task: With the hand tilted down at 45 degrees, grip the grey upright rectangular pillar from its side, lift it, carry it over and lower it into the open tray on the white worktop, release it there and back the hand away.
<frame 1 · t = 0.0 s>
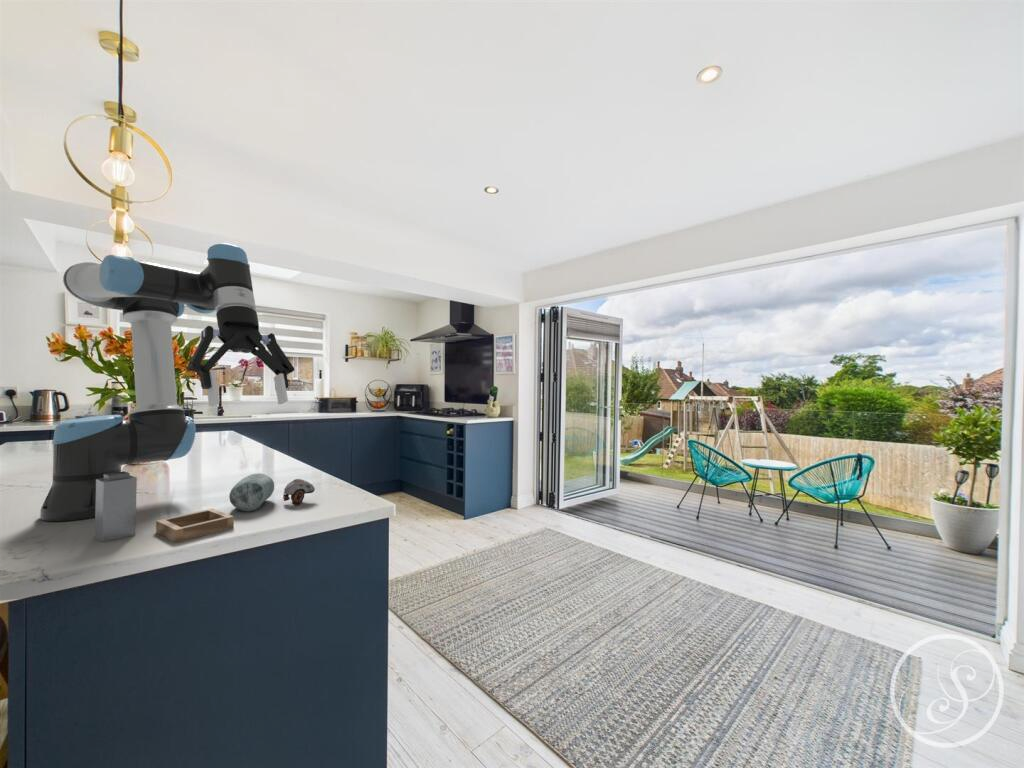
hand: (251, 403, 86), 28 cm above the countertop, fingers open, 13 cm apart
tray: (195, 529, 88), on the countertop
mottled river stone: (252, 507, 106), on the countertop
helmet: (299, 503, 109), on the countertop
grey upright rectangular pillar: (115, 536, 84), on the countertop
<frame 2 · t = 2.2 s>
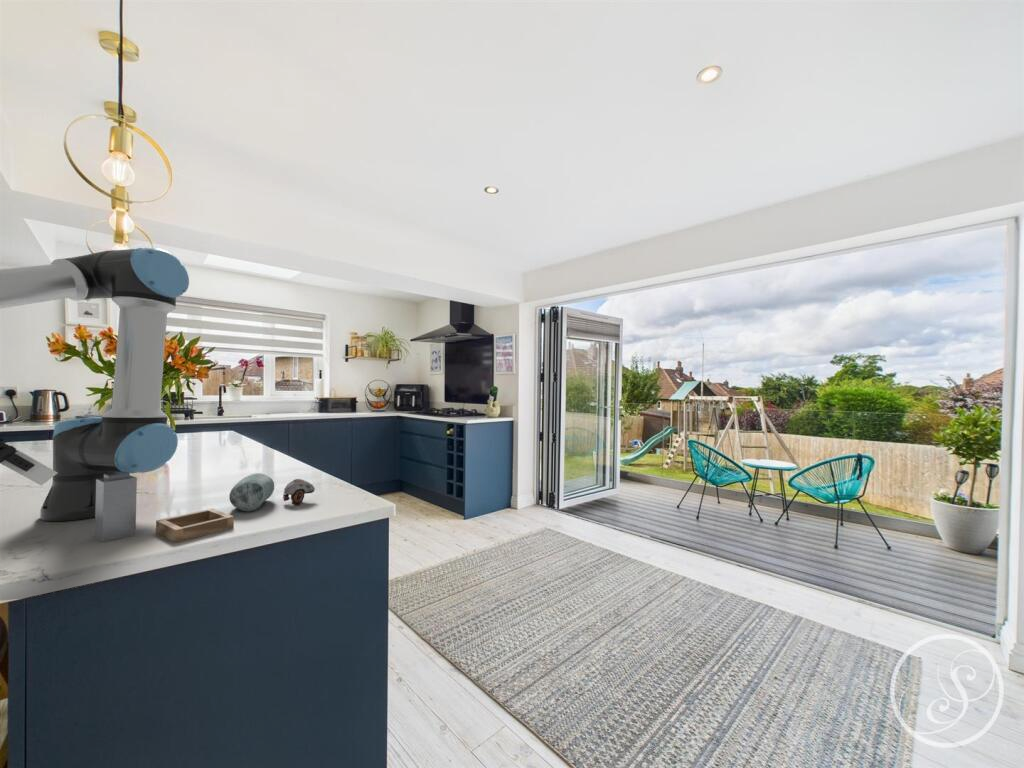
hand: (40, 474, 75), 15 cm above the countertop, fingers open, 13 cm apart
nothing on the countertop moved.
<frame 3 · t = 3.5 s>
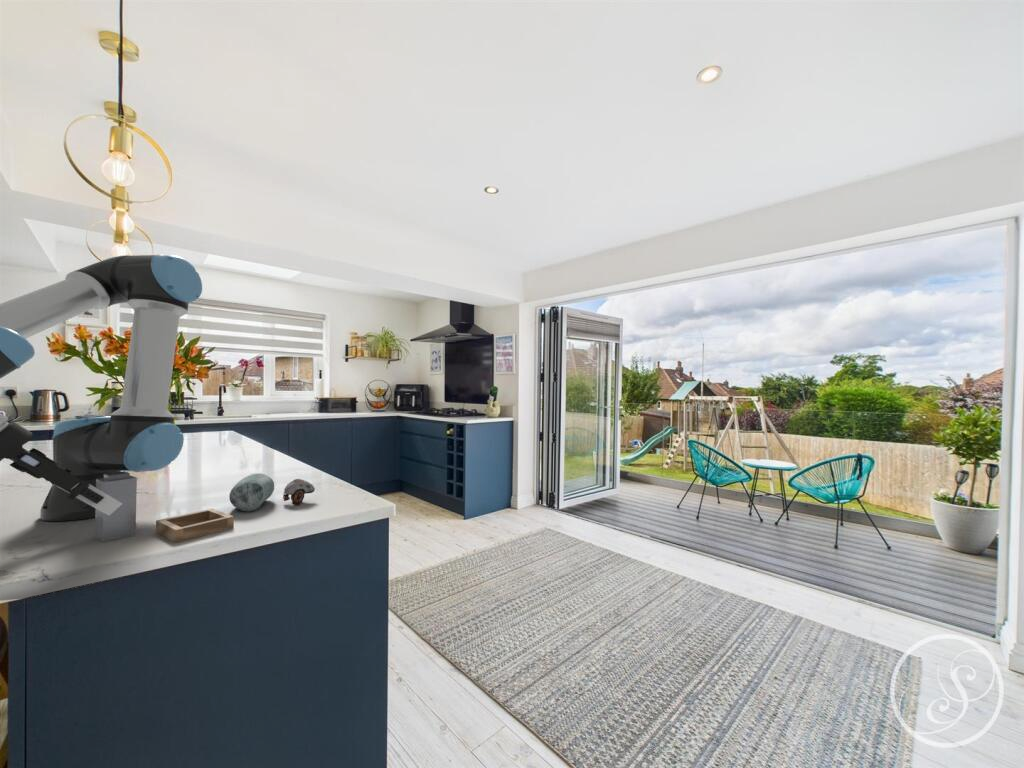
hand: (104, 503, 82), 7 cm above the countertop, fingers open, 13 cm apart
nothing on the countertop moved.
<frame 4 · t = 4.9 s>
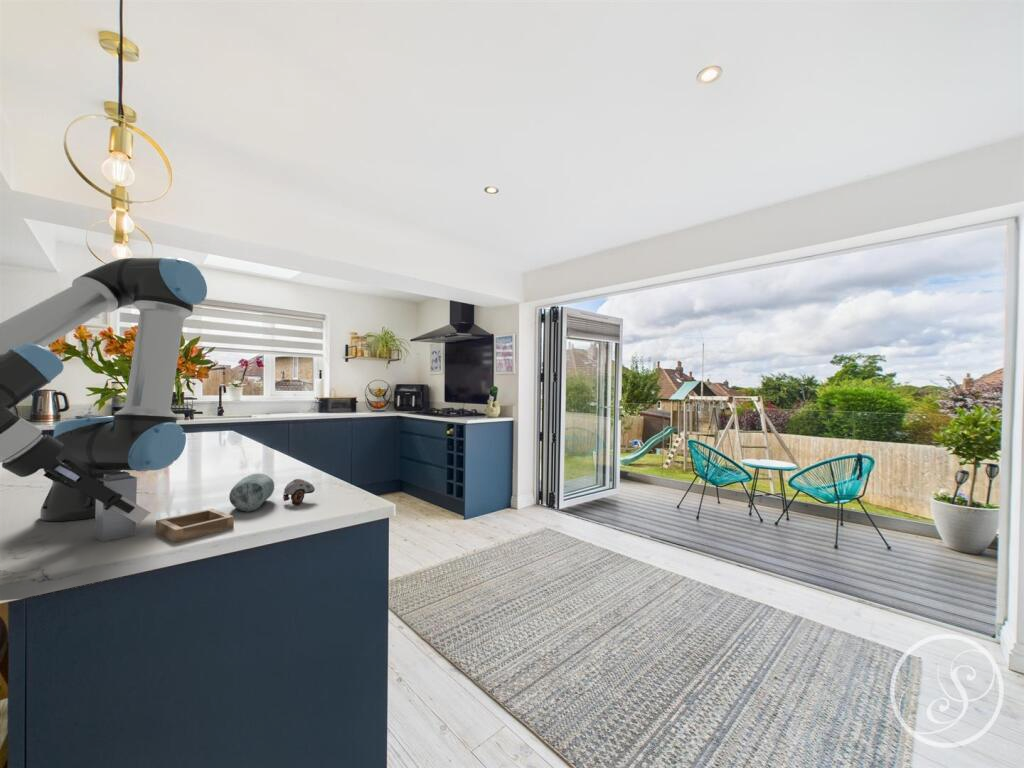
hand: (139, 515, 87), 3 cm above the countertop, fingers closed on grey upright rectangular pillar, 5 cm apart
grey upright rectangular pillar: (115, 536, 84), on the countertop, touching gripper
everything else where it was.
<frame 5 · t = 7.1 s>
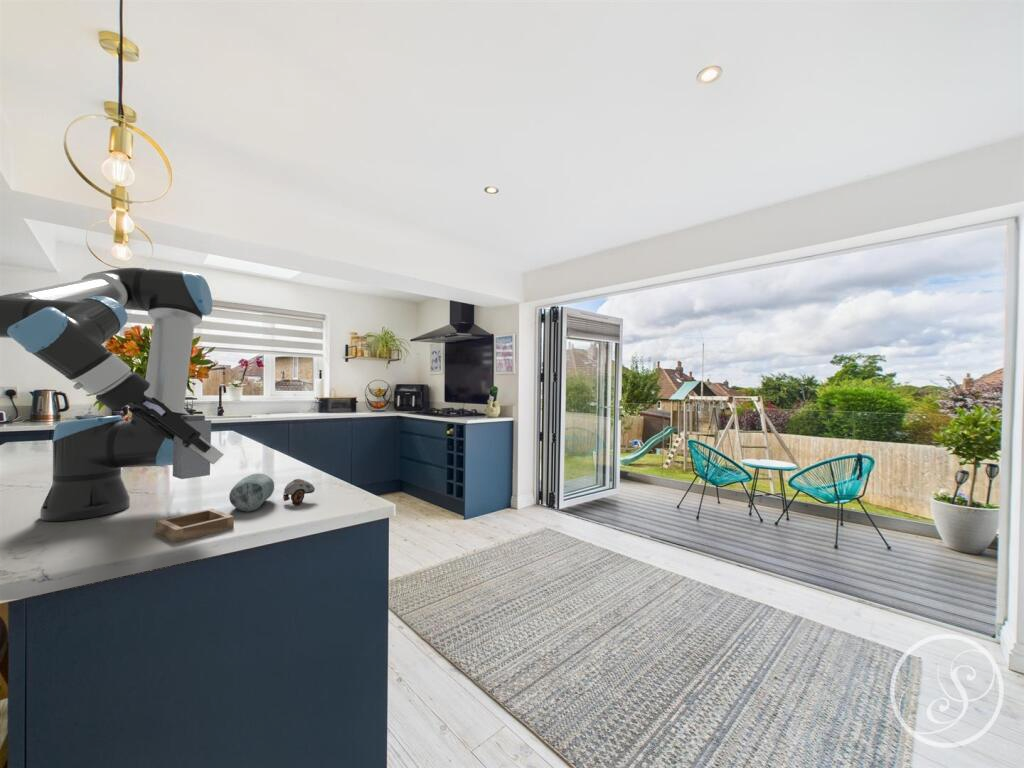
hand: (212, 457, 90), 15 cm above the countertop, fingers closed on grey upright rectangular pillar, 5 cm apart
grey upright rectangular pillar: (191, 475, 87), point 12 cm above the countertop, touching gripper
everything else where it was.
when the fingers open (4 cm above the countertop, at t = 9.5 s): grey upright rectangular pillar stays where it is, resting in tray.
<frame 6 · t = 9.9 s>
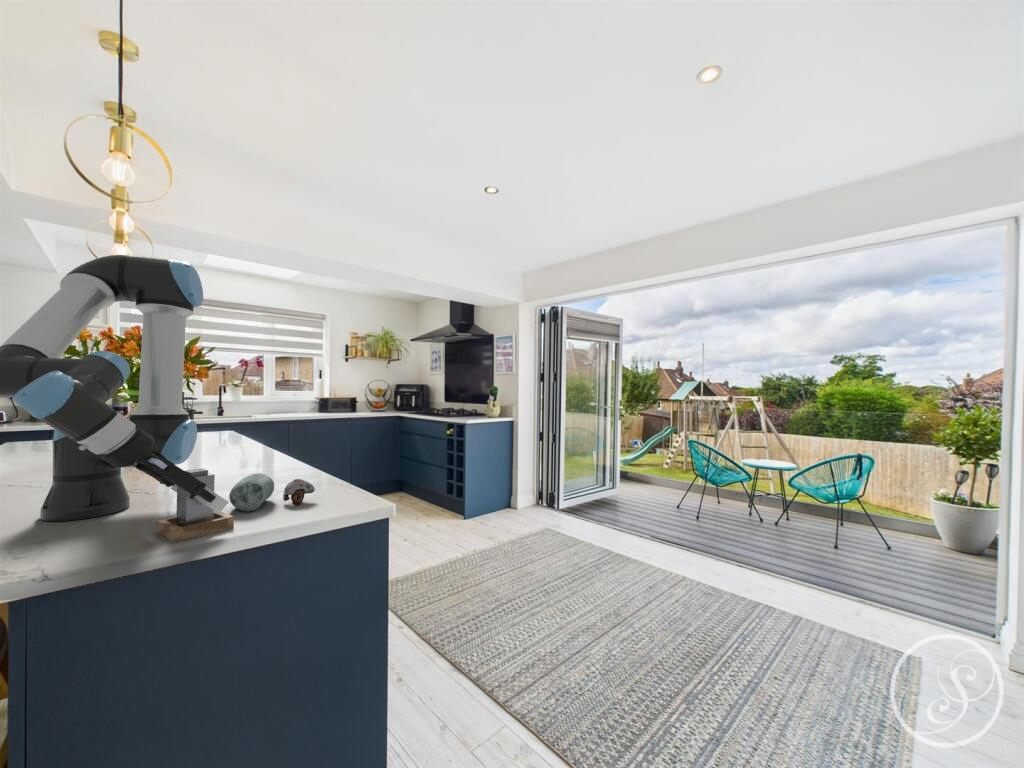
hand: (211, 503, 91), 5 cm above the countertop, fingers open, 10 cm apart
grey upright rectangular pillar: (194, 530, 88), resting in tray
everything else where it was.
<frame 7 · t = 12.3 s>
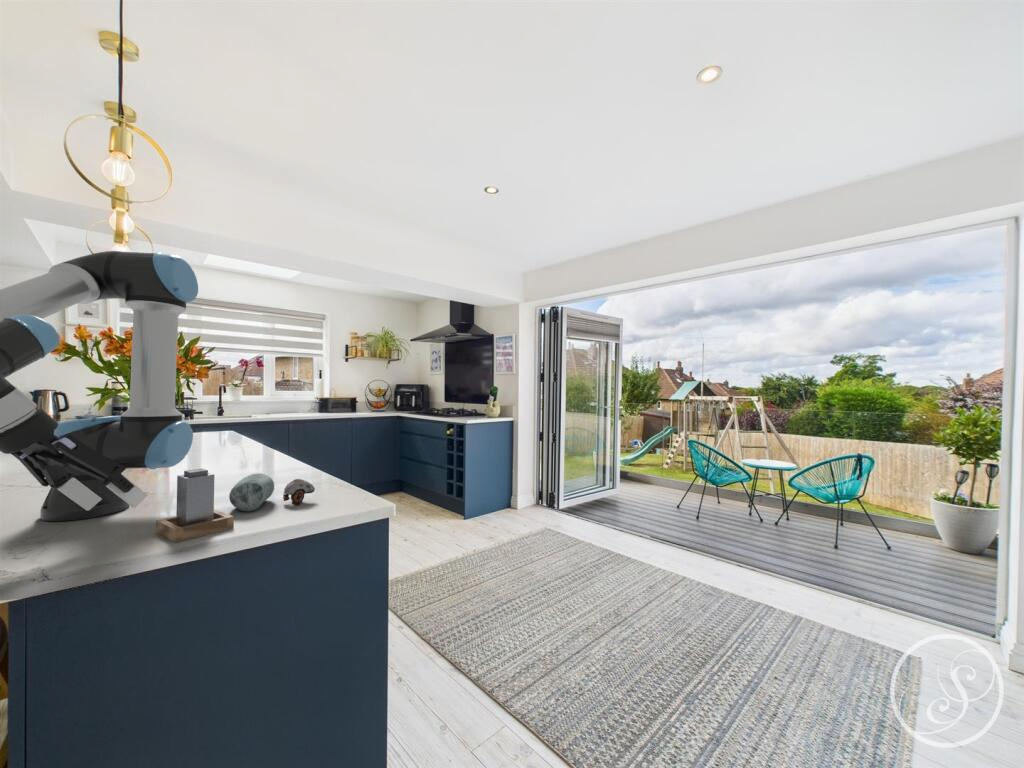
hand: (117, 503, 78), 9 cm above the countertop, fingers open, 13 cm apart
nothing on the countertop moved.
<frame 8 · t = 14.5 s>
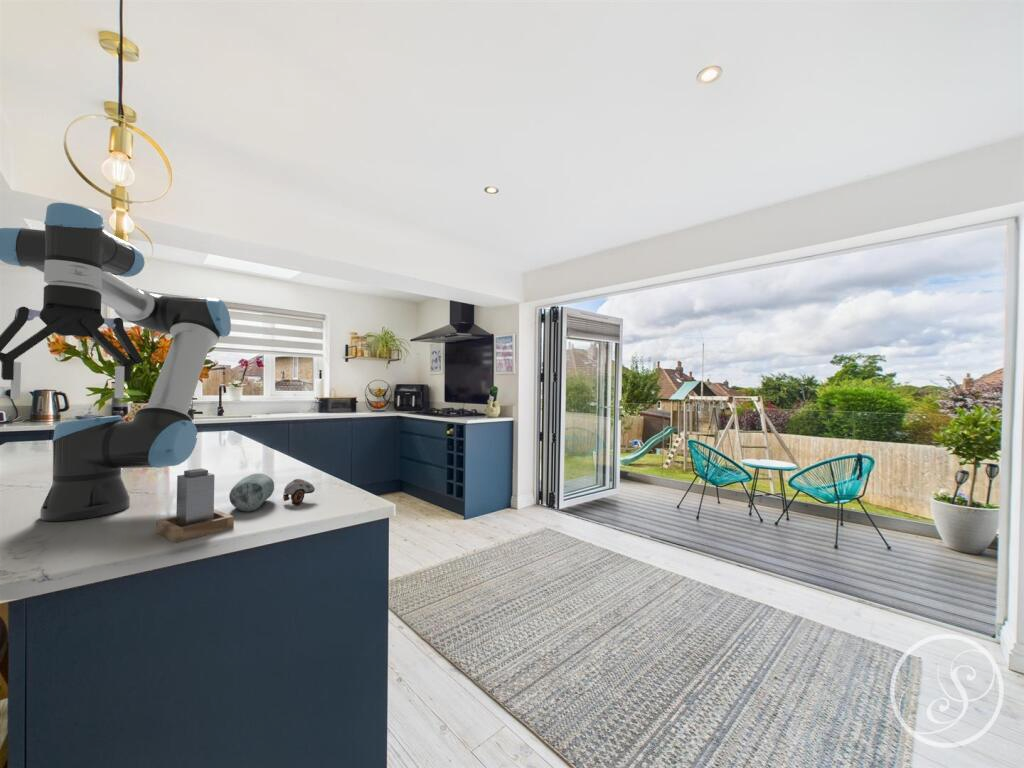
hand: (71, 398, 77), 29 cm above the countertop, fingers open, 13 cm apart
nothing on the countertop moved.
at the end: grey upright rectangular pillar 0.1 cm off-centre on the tray, point 0.0 cm above the tray's base; grey upright rectangular pillar tilted 0°; the gripper is holding nothing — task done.
